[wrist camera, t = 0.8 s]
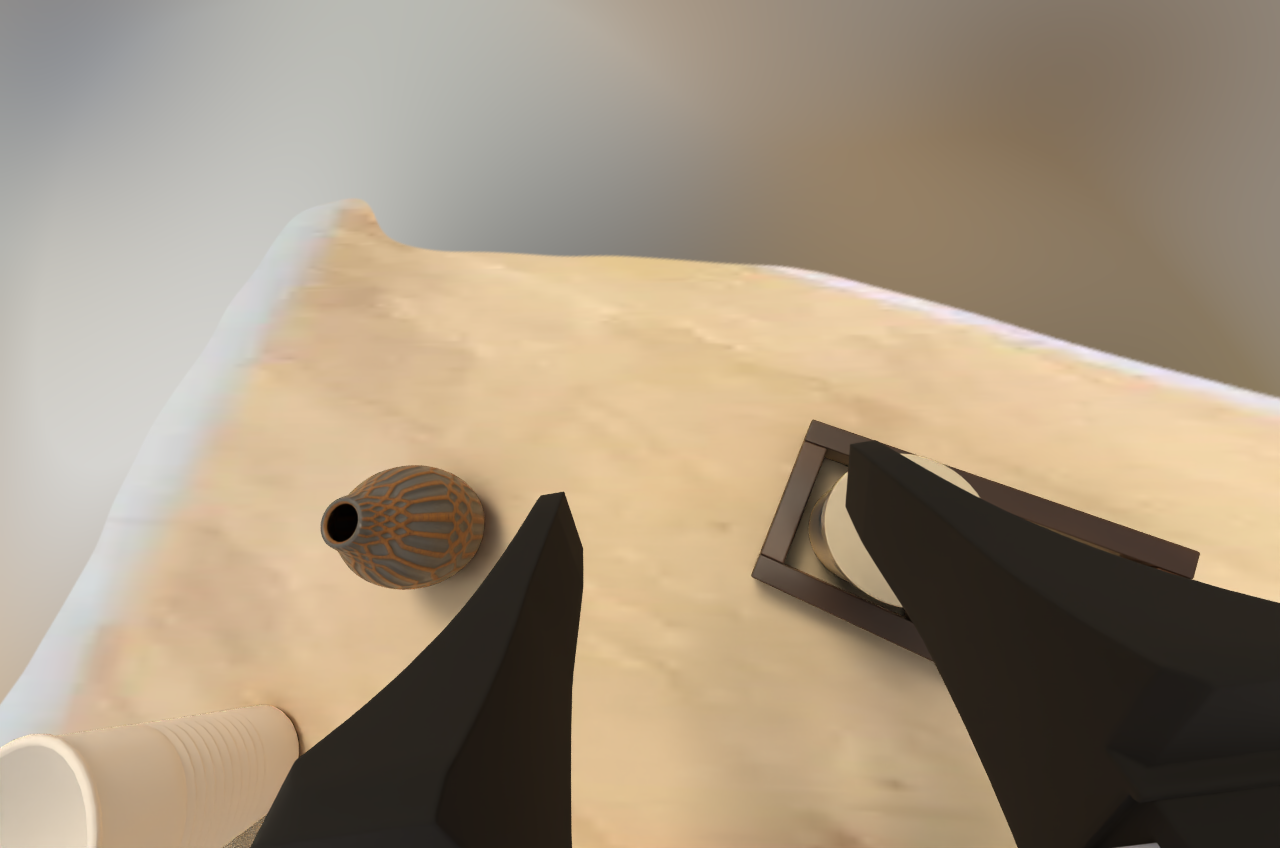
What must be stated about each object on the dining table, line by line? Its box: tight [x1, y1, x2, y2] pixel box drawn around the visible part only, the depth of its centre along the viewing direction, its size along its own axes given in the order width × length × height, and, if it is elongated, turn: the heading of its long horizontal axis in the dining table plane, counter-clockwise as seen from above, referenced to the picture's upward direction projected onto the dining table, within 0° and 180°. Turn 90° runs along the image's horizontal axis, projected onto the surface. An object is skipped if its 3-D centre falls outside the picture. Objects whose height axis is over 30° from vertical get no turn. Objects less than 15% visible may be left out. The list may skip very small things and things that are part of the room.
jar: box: [808, 453, 980, 607], centre depth 21 cm, size 6×6×8 cm
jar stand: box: [751, 420, 1200, 662], centre depth 22 cm, size 9×16×2 cm, turn 66°
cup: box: [0, 705, 299, 848], centre depth 25 cm, size 10×10×11 cm
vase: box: [321, 465, 484, 590], centre depth 26 cm, size 7×7×9 cm
